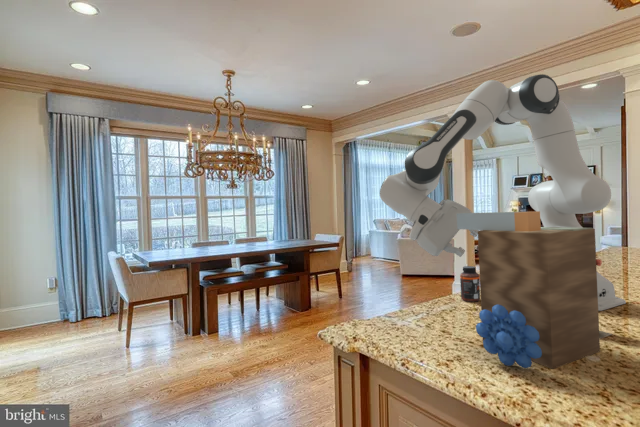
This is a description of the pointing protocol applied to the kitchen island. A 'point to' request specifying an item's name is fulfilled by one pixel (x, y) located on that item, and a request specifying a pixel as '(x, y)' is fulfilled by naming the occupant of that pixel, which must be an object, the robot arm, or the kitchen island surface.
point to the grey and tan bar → (500, 221)
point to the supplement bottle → (470, 284)
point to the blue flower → (508, 336)
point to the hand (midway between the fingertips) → (470, 244)
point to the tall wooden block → (545, 286)
